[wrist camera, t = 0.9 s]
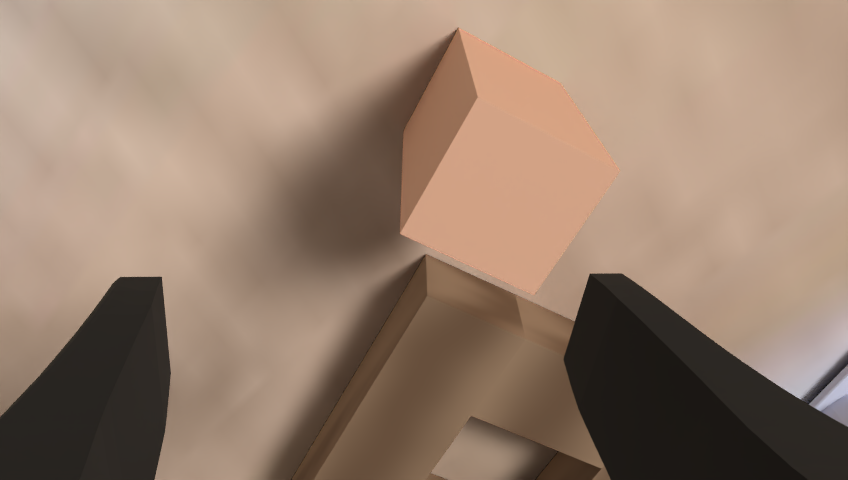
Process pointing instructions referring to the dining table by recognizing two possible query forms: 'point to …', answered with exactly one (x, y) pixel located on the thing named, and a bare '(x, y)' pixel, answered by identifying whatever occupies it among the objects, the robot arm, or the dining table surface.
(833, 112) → the dining table surface
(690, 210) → the dining table surface
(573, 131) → the peg
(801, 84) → the dining table surface
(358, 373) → the slot block
